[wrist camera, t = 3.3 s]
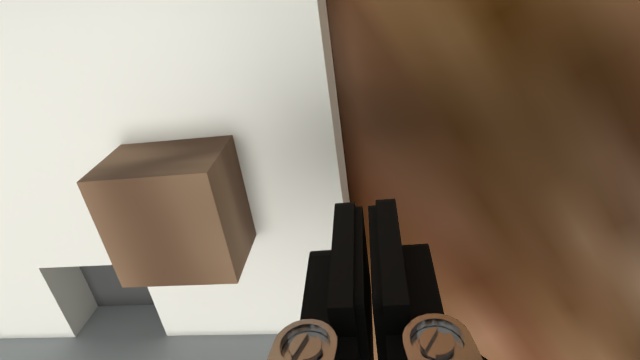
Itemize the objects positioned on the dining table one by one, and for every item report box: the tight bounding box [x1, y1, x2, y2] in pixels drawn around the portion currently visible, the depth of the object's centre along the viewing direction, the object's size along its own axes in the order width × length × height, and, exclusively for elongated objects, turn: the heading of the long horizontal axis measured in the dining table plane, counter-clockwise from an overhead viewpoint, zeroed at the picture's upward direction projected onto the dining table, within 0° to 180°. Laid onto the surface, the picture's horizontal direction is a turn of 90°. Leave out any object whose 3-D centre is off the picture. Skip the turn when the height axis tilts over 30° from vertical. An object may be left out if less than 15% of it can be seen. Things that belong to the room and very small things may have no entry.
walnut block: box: [76, 135, 256, 288], centre depth 17 cm, size 4×4×3 cm
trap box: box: [0, 0, 350, 360], centre depth 20 cm, size 27×18×4 cm, turn 98°
